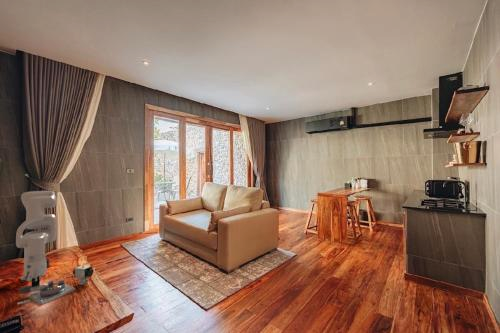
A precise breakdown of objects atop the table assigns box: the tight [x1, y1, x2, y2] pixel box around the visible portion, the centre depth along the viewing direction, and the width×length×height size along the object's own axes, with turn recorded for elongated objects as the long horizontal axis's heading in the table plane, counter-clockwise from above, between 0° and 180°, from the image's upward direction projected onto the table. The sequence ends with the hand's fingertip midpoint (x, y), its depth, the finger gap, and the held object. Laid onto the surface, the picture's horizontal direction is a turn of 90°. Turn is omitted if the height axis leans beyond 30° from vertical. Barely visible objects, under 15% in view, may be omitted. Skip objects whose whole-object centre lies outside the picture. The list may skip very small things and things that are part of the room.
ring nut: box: [19, 279, 66, 296], centre depth 129 cm, size 22×11×4 cm, turn 102°
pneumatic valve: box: [72, 264, 95, 286], centre depth 142 cm, size 6×12×12 cm, turn 78°
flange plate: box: [16, 283, 76, 306], centre depth 127 cm, size 16×22×2 cm
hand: (35, 287), depth 130 cm, fingers closed
